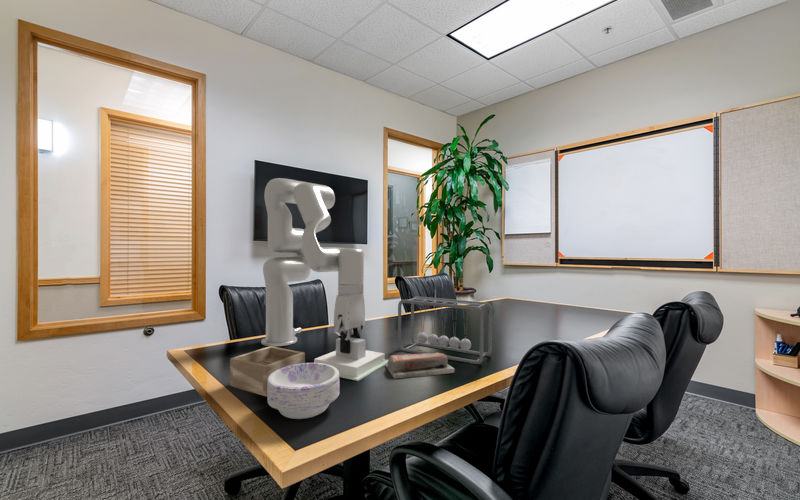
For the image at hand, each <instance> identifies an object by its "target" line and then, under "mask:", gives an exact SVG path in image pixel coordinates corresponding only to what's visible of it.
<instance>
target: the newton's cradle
mask: <svg viewBox="0 0 800 500" xmlns="http://www.w3.org/2000/svg"><path fill="white" fill-rule="evenodd" d="M403 304H410V340H411V343H412V345H409V346H407V347H406V348H405V347H403V346H402V306H403ZM415 305H419V306H420V307H419V308H420V309H419V310H420V312H422V306H424V305H425V310H424V312H426V310H427V306H430V307H429V308H432V307H440V311H441V313H440V314H441V316H443V314H442V313H443V312H442V310H443V309H442V307H443V308H445V309H447V308H451V309H461V310H462V313H463V314H462V315H463V318H465V313H464V309H465V310H471V311H472V310H473V311H477V312H478V313H479V351H477V350H472V349H471V347H472V343H471V341H470V339H468V338H467V337H464V338H462V339H461V340H460V338H458V337H457V336H452V337H450V338H449V337H448V336H447V335H445V330H446V326H444V325H443V321H441V325H442V326H441V327H442V328H441V329H442V330H443V334H442V335H441V336H439V337H438V335H437V334H435V332H434V328H435V326H436V325H435V324H436V321H433V315H432V314H433V313H430V316H431V321H433V322H434V323H433V326H431V331H432V334H429V336H428V335H427V334H426V332H424V331H421V332H418V334H417V336H416V340H417V341H416V340H415ZM484 306H485V307H487V308H488V347H487V349H488V351H487V352H484V334H485V333H484V331H485V330H484V328H485V327H484V323H485V322H484V321H485V319H484V318H485V315H484V311H483V309H482V308H481V307H484ZM436 311H437V309H435V311H434V317H436V313H437V312H436ZM453 312H454V311H453V310H451V316H452V319H454V313H453ZM466 313H467V315H466V319H468V317H469V311H467V312H466ZM457 314H458V310H456V314H455V319H457V316H458V315H457ZM425 319H426V315H424V317H423V321H425ZM446 319H447V314H445V316H444V322H446ZM420 324H421V325H420V327H421V330H423V329H424V328H425V327H424V326H425V323H422V320H420ZM422 324H423V325H422ZM456 327H457V323H455V326H454V325H452V329H453V334H455V332H456V329H457V328H456ZM463 327H464V329H463V331H464V334H467V331H468V325H466V327H465V324H463ZM427 342H428V343H427ZM448 345H449V346H448ZM413 346H421V347H427V348H432V349H439V350H444V351H451V352H456V353H463V354H470V355H475V356H478V357H479V358H478V359H477V360H474V359H468V358H465V357H464V358H463V357H458V356H457V357H456V356H452V355H446V354H445V355H446V357H447V358H448V360H451V361H454V362H462V363H466V364H472V365H473V364H474V365H480V364H481V363H482V362H483V361H484V357H489V356H490V355H491V354H492V353H493V352H492V351H493V307H492V305H491V304H490V303H488V302H485V301H475V300H464V299H452V298H443V297H442V298H439V297H428V296H419V295H417V296H413V297H412V298H409V299H401V300H399V302H398V304H397V347H398V349H399V350H400V351H401V352H404V351H405V352H406V353H411V354H423V353H431V352H429V351H423V350H417V349H412V348H411V347H413ZM459 347H460V348H459ZM470 349H471V350H470ZM405 352H404V353H405Z"/></svg>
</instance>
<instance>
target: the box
mask: <svg viewBox="0 0 800 500" xmlns="http://www.w3.org/2000/svg"><path fill="white" fill-rule="evenodd" d="M301 363H306V352H304V351H297V350H293V349H287V348H282V347H279V346H276V347H273V346H265V347H262V348H260V349H256V350H253V351H250V352H248V353H244V354H240V355H238V356H234V357H231V358H230V359H229V367H230V368H229V386H230V387H233V388H236V389H239V390H242V391H246V392H249V393H252V394H257V395H259V396H263V397H267V393H268V392H267V382H268V381H267V379H268V377H269V376H270V374H272V373H273V372H274V371H276V370H278V369H280V368H283V367H286V366H290V365H294V364H301Z"/></svg>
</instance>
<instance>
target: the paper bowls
mask: <svg viewBox="0 0 800 500" xmlns="http://www.w3.org/2000/svg"><path fill="white" fill-rule="evenodd" d="M267 381H268V382H267V392H268V393H267V396H266V397H267V400H266V401H267V404H268V405H269V406H270V407H271V408H272V409H275V410H278V412H279V413H280V414H281V415H282V416H283V417H285V418H287V419H293V420H303V419H309V418H314V417H317V416H318V415H321V414H322V413H324V412H325V411H326V409H328V407H329V405H330V404H331V403H333V402H335V400H336V399H338V397H339V395H340V389H341V388H340V377H339V371H338V369H337V368H335V367H333V366H331V365H328V364H323V363H314V362H305V363H301V364H294V365H290V366H286V367H283V368H280V369H278V370H276V371H274V372H273V373H272V374H270V376H269V377H268V379H267Z"/></svg>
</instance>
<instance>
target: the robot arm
mask: <svg viewBox="0 0 800 500" xmlns="http://www.w3.org/2000/svg"><path fill="white" fill-rule="evenodd" d="M335 195H336V194H335V192H334V190H333V189H332V188H331V187H329V186H327V185H326V184H325V185H324V184H320V183H319V184H318V183H314V182H313V183H312V182H307V181H302V180H296V179H292V178H291V179H290V178H282V177H278V178H277V177H276V178H272V179H270V180H269V181H268V182H267V183H266V186H265V189H264V195H263V196H264V197H263V198H264V203H265V207H266V212H267V246H268V249H269V250H270V252H272V253H277V254H292V255H293V256H273V257H269V258H268V259H267V260H266V261H265V262H264V263H263V266H262V273H263V278H264V284H265V337H264V338H262V339H261V342H260V343H261V345H262V346H265V347H269V346H273V347H285V346H290V345H293V344H296V343H297V342H298V337H297V336H296V335H297V334H299V333H301V332H303V331H302V328H301V327H296V328H295V327H294V294H293V293H294V292H293V290H292V288H291V287H290V285H289V284H288V283H292V282H301V281H305V280H307V279H308V278H309V276H310V274H311V270H312V271H313V272H316V273H330V272H338V273H337V275H338V276H337V278H338V279H337V295H336V297H335V302H334V303H335V304H334V313H333V327H334V329H333V333H335V334H336V335H337V336H338V338H339V339H340V352H341V353H347V354H349V353H350V340H348V339H349V337H352V338H358V339H361V335H362V334H363V332H362V331H363V329H364V326H365V324H366V308H365V307H366V306H365V297H364V280H365V279H364V277H365V276H364V267H365V266H364V262H365V260H364V257H365V254H364V251H363V249H360V248H354V247H353V248H351V247H349V248H347V247H331V246H330V247H329V246H327V247H325V246H323V247H321V246H320V243H319V242H318V239H317V236H316V235H317V233H319V232H322V231H323V230H325V229H326V228H328V227H329V225H330V224H331V222H332V218H331V215H330V212H329V211H328V210H330V209H331V208H333V207H334V206H335V202H336V196H335ZM287 204H294V205H296V206H297V208H298V211H299V213H300V216H301V217H302V220H303V222H304V225H305V228H304V229H303V228H299V227H298V228H297V227H293V214H292V212H291V211H290V209H289V207H288V206H287ZM350 332H351V333H350ZM350 334H351V335H350Z"/></svg>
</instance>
